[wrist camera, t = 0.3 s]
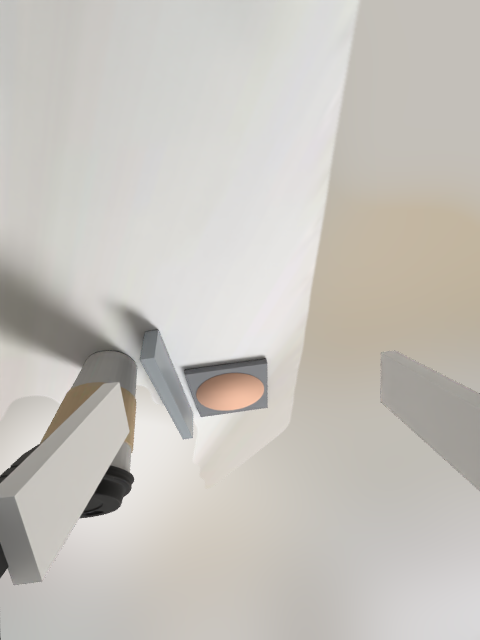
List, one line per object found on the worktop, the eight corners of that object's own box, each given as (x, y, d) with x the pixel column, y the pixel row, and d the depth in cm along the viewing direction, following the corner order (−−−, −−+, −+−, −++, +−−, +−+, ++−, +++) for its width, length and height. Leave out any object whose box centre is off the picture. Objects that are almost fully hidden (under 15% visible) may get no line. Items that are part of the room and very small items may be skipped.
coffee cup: (125, 393, 38) (97, 523, 27) (55, 368, 33) (-15, 517, 22) (166, 361, 34) (151, 498, 23) (93, 327, 29) (31, 483, 18)
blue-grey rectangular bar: (145, 331, 30) (139, 359, 27) (158, 329, 30) (154, 357, 27) (184, 414, 44) (183, 439, 41) (193, 413, 44) (192, 437, 41)
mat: (184, 369, 36) (184, 375, 35) (266, 358, 36) (267, 364, 35) (200, 412, 44) (200, 417, 44) (266, 403, 44) (267, 408, 44)
